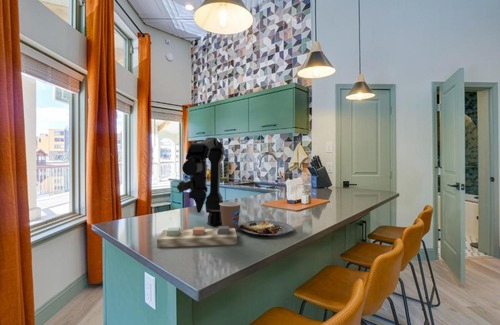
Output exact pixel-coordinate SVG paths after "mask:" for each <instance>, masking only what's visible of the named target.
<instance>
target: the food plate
mask: <svg viewBox="0 0 500 325" xmlns="http://www.w3.org/2000/svg"><path fill="white" fill-rule="evenodd" d="M273 226H275V227H273ZM270 227H271V228H270ZM280 227H282V228H284V229H285V232H284V231H283V232H281V233H282V234H281V233H279V231H280V230H279V229H282V228H280ZM238 228H239V230H240V231H242V232H245V233H247V234H251V235H257V236H267V237H270V236H275V237H278V236H279V235H280V236H283V235H285V234H288V233H289V232H294V230H295V227H293V225H292V224H289V223H287V222H282V221H278V220H264V219H263V220H251V221H247V222H244V223H241V224H240V225H239V226H238ZM268 228H269V229H268ZM276 230H278V231H276ZM276 233H278V234H276ZM280 236H279V237H280Z"/></svg>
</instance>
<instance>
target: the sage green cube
mask: <svg viewBox="0 0 500 325" xmlns="http://www.w3.org/2000/svg"><path fill="white" fill-rule="evenodd" d="M166 230H167V236H179V235H180V230H181V227H179V226H178V227H168V228H167V229H166Z"/></svg>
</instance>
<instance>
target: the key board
mask: <svg viewBox="0 0 500 325" xmlns="http://www.w3.org/2000/svg"><path fill="white" fill-rule="evenodd" d="M167 230H168V229H163V230H162V231H161V233H160V235H159V236H158V237H157V238H156V247H157V248H171V247H173V248H174V247H176V248H177V247H199V246H223V245H225V246H227V245H228V246H229V245H237V244H238V235H237V231H236V230H235V228H229V234H218V228H205V235H193V228H191V229H189V228H188V229H180V235H179V236H167Z"/></svg>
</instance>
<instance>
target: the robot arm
mask: <svg viewBox="0 0 500 325" xmlns="http://www.w3.org/2000/svg"><path fill="white" fill-rule="evenodd" d="M224 155H225V147H224V145H223V143H222V142H221V141H219V140H218V138H216V137H206V138H205V139H204V140H202V141H200V142H191V144H190V145H189V146H188V148H187V152H186V157H185V160H186V161H184V163H183V164H182V169H181V170H182V172H183V173H184V174H185V175H187V176H189V177H190V176H191V177H190V178H189V179H190V180H188V181H184V180H182V181H180V182H178V184H177V185H176V188H177V190H178V192H179V194H181V193H183V192H184V191H185V192H186V191H187V190H190V191H189V192H188V198H189V199H193V200H194V203H195V207H196V212H197V213H199V214H200V213H201V211H202V209H203V206H204V205H205V213H206V214H207V213H208V214H207V222H206V224H207V225H209V226H211V227H217V226H222V219H221V210H220V203H222V202H224V200H223V195H222V194H221V193H220V185H221V184H220V180H221V179H220V178H221V176H220V172H221V168H220V167H221V163H222V161H223V159H224ZM207 159H208V161H209V162H210V181H209V182H210V185H209V186H210V187H209V190H210V191H209V193H208V186H207ZM207 193H208V194H207ZM204 203H205V204H204Z"/></svg>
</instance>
